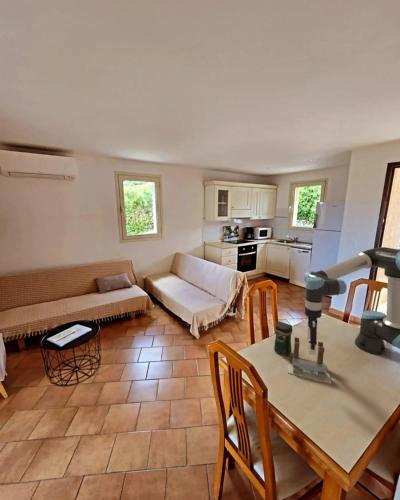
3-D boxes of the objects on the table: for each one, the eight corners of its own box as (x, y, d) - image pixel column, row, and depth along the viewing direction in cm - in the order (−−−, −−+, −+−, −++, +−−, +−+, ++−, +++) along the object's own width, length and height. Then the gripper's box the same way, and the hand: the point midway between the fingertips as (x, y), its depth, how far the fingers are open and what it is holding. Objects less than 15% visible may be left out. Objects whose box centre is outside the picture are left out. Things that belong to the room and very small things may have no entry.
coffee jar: (293, 352, 134) (294, 324, 131) (287, 358, 129) (289, 329, 125) (277, 345, 141) (279, 318, 138) (272, 351, 135) (273, 323, 132)
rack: (324, 364, 123) (326, 343, 120) (326, 371, 118) (328, 349, 115) (290, 357, 130) (291, 336, 127) (290, 363, 124) (291, 341, 122)
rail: (325, 370, 114) (326, 364, 114) (326, 374, 111) (326, 369, 111) (292, 362, 120) (292, 357, 120) (292, 366, 117) (292, 361, 117)
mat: (328, 374, 116) (329, 369, 115) (331, 383, 109) (331, 378, 109) (288, 364, 123) (288, 359, 123) (287, 373, 117) (288, 368, 116)
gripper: (303, 297, 122) (302, 332, 126) (306, 318, 100) (304, 359, 104) (319, 299, 120) (316, 334, 123) (325, 320, 97) (322, 363, 101)
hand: (311, 346), depth 114 cm, fingers open, 13 cm apart
